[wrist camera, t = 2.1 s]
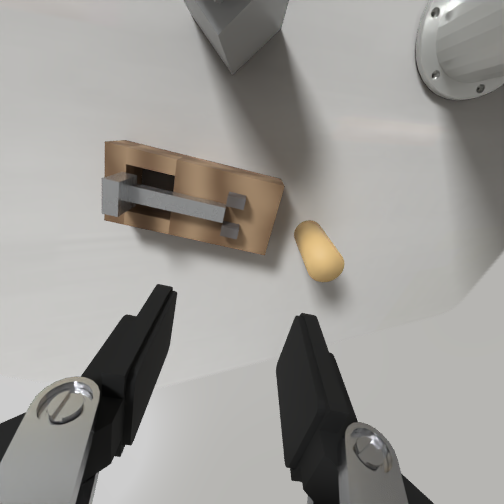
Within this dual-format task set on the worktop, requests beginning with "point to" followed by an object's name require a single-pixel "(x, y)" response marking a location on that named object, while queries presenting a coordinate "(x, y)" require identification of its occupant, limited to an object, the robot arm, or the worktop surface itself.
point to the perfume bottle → (238, 26)
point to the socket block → (201, 186)
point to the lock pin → (153, 199)
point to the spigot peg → (318, 252)
